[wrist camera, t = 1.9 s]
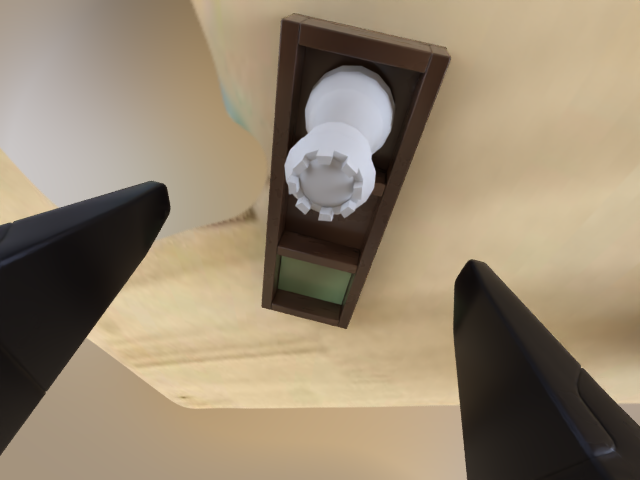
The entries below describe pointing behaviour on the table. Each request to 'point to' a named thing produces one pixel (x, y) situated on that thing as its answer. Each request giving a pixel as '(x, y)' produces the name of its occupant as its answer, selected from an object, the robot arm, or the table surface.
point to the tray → (389, 161)
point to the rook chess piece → (340, 142)
